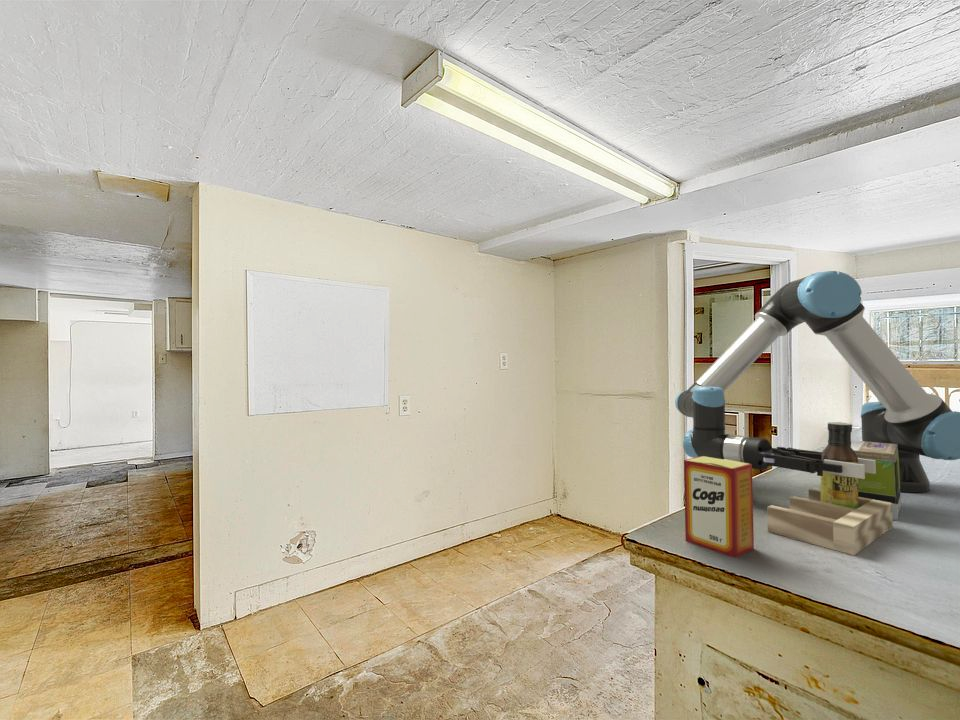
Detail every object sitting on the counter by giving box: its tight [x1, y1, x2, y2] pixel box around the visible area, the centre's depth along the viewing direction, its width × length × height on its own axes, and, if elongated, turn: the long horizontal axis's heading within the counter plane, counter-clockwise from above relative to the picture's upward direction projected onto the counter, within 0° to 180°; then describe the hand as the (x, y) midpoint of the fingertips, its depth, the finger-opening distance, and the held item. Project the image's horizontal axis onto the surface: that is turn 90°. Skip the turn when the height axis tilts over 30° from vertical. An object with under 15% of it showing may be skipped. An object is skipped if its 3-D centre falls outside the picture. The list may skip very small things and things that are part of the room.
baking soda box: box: [683, 456, 755, 558], centre depth 85 cm, size 10×6×16 cm
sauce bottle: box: [820, 421, 858, 509], centre depth 94 cm, size 6×6×20 cm
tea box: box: [851, 440, 902, 521], centre depth 104 cm, size 15×10×15 cm
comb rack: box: [766, 487, 894, 556], centre depth 91 cm, size 23×14×5 cm, turn 125°
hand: (869, 469), depth 90 cm, fingers closed on sauce bottle, 6 cm apart
